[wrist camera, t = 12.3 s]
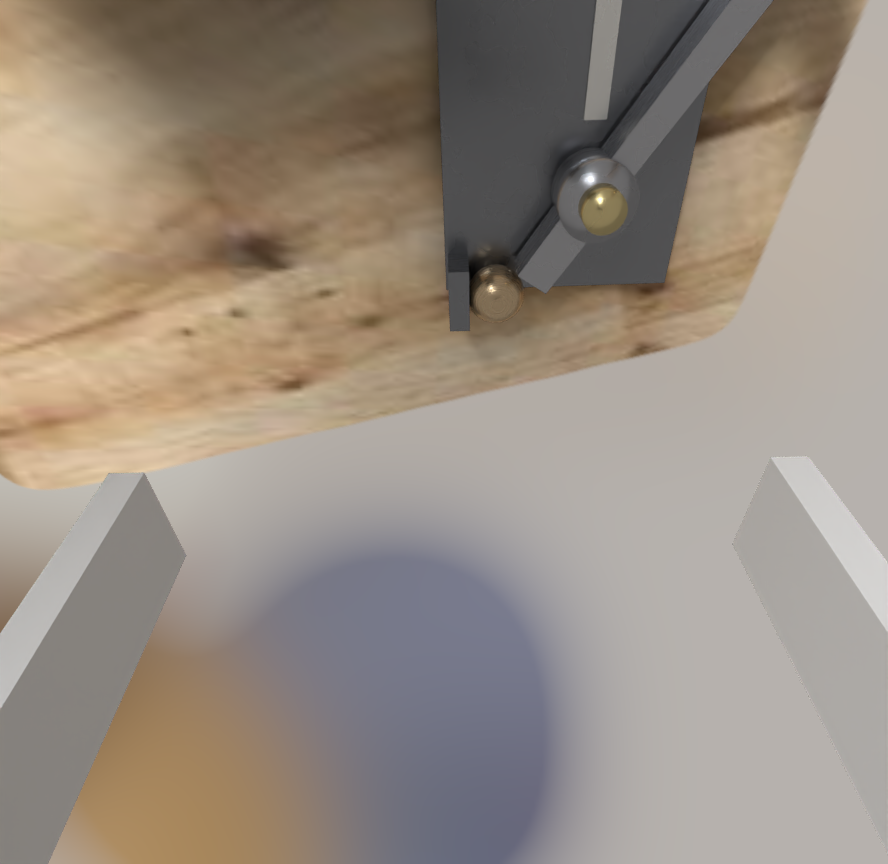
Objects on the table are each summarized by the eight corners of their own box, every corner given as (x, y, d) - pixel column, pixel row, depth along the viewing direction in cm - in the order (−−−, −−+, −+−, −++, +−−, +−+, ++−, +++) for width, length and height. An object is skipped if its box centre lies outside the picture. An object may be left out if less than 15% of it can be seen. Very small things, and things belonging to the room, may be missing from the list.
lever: (819, -202, 26) (1067, -318, 16) (880, -124, 28) (1142, -184, 17) (500, 250, 40) (518, 349, 29) (553, 285, 41) (589, 390, 31)
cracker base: (432, -96, 30) (429, -110, 24) (767, -112, 29) (837, -131, 24) (447, 303, 44) (447, 347, 39) (671, 296, 43) (702, 340, 38)
